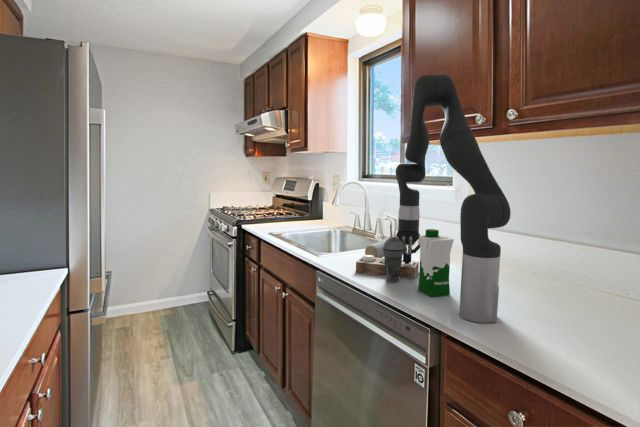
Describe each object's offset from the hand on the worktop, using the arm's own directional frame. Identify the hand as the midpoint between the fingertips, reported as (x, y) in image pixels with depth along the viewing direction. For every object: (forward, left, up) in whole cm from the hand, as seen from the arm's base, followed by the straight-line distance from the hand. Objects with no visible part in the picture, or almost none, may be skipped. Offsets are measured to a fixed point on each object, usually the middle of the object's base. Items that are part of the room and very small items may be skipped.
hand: (407, 263), depth 144 cm
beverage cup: (+3, +11, -4) cm, 12 cm away
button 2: (0, 0, -3) cm, 3 cm away
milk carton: (-12, +18, -4) cm, 22 cm away
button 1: (+15, 0, -2) cm, 15 cm away
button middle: (+7, 0, -2) cm, 8 cm away
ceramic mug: (+14, -16, -5) cm, 22 cm away
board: (+7, 0, -4) cm, 9 cm away
